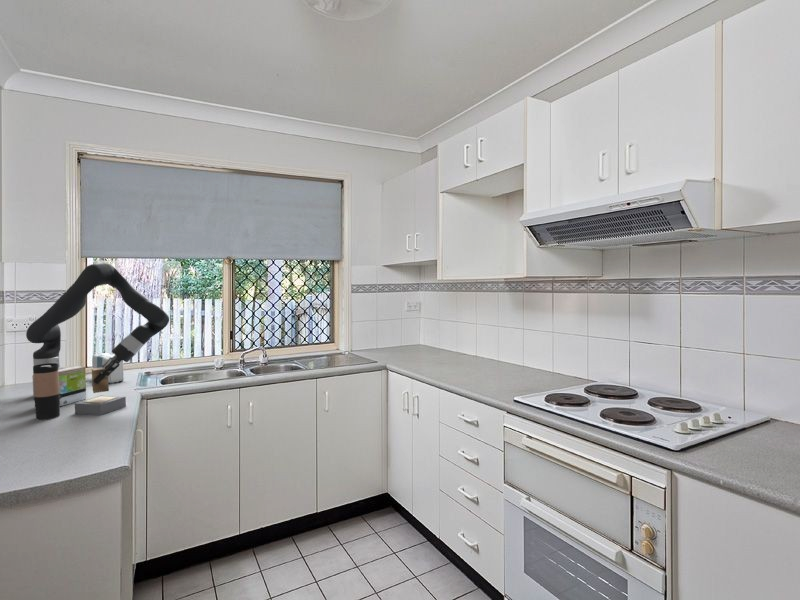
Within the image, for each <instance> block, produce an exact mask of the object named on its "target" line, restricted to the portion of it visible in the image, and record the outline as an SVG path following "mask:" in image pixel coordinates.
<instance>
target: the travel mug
mask: <svg viewBox="0 0 800 600" xmlns="http://www.w3.org/2000/svg"><path fill="white" fill-rule="evenodd" d="M32 371H33V372H32V373H33V375H32V376H33V378H32V381H33V380H34V396H33V399H34V408H35V410H34V411H35V419H36V420H37V419H38V421H40V420H41V421H45V420H44V419H46V420H52V419H55V418H58V417H59V416H60V415H61V413H60V412H61V406H60V391H59V374H58V364H57V363H47V364H39V365H35V366H34V365H33V366H32ZM51 418H52V419H51Z"/></svg>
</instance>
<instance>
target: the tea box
mask: <svg viewBox="0 0 800 600" xmlns="http://www.w3.org/2000/svg"><path fill="white" fill-rule="evenodd" d="M58 374H59V391H60V407H61V406H66V405H70V404H75V403H77V402H81V401H84V399H85V400H87V387H86V386H87V384H86V383H87V382H86V381H87V380H86V379H87V378H86V366H77V365H76V366H75V365H73V366H71V365H67V366H66V365H65V366H60V368H58Z"/></svg>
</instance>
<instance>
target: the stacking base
mask: <svg viewBox="0 0 800 600" xmlns="http://www.w3.org/2000/svg"><path fill="white" fill-rule="evenodd" d="M126 398H127V397H126V396H120V395H118V396H117V395H103V394H101V395H98V396H95V397H91V398H86V399H85V400H81V401H77V402H74V414H76V413H77V414H79V415H91V416H92V415H94V416H95V415H96V416H103V415H105V414H108V413H110V412H113V411H116V410H120V409H123V408H125V407H127V404H126V403H127V401H126Z"/></svg>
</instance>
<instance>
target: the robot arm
mask: <svg viewBox="0 0 800 600" xmlns="http://www.w3.org/2000/svg"><path fill="white" fill-rule="evenodd" d="M104 285H110V286H111V287H113V288H114V289H116V290H117V291H118V292H119V294H120V297H121V299H122V300H123V302H124V304H125V305H127V306H128V307H129V308H130V309H132V310H133V311H134V312H136V313H137V314H139V315H141V316H142V317H143V318H144V319H146V320H147V322H145V323H144V324H139V325H138V326H136V327H135V328H134V329H133V330H132V331H131V332H130V333H129V334H128V335H127V336H125V337H124V338H123V339H122V340H121V341H120V342H119V343H118V344H117V345H116V346H115V347H113V349H112V350H111V352H112V354H115V356H114V357H112V358H111V357H110V358H109V359H108V360H107V361H106V362H105V363H104V364H103V366H102V367H104V370H103V371H101V374H99V375H98V376H97V377H96V378H95V379H94V380H93V382H95V383H96V384H98V383H99V382H100V381H101V380H102V379H104V378H105V377H106V376H109V375H110V374H111V373H112V372H113V371H114V370H115V369H116V368H117V367H119V365H120V364H119V363H120V362H121V360H123V362H125V363H129V361H131V359H132V358H134V356H136V355H137V354H138V353H139V351H140V350H142V348H143V347H144V345H146V343H148V342H149V341H150V339H152V337H154V336H155V335H157V334H158V333H160V332H161V331H163V330H164V329H165V328H166V327H167V326H168V324H169V322H170V317H169V315H168V314H167V312H165V311H164V310H163V309H162V308H161V307H160V306H158V305H157V304H156V303H153V302H152V301H151V300H150V299H148V298H147V297H146V296H145V295H143V294H142V293H141V292H140V291H138V290H137V289H136V288H134V287H133V285H132V284H130V282H129V281H128V280H127V279H126V278H125V277H124V276H123V275H122V274H121V272H120V271H118V269H117V268H116V267H115V266H114V265H112V264H111V263H108V262H102V263H101V262H100V263H99V262H98V263H93V264H89V265H87V266H86V267H85V268H84V269H83V270H82V271H81V272H80V274H79V275H78V276H77V279H76V280H75V281H74V282H73V284H72V285H70V286H69V288H67V290H66V291H65V292H64V293H63V294H62V295H61V296H59V298H58V299H57V300H56V301H55V302H54V304H52V306H50V308H48V309H47V310H46V311H45V312H44V313H43V314H42V315H40V317H38V318H37V319H36V320H35V321H33V322H31V324H30V325H29V326H28V328H27V329H26V332H25V336H26V340H27V341H28V342H29V343H32V344H43V345H42V346H41V347H40V348H39V349H36V350H35V351H34V352H33V354H32V360H33V361H32V362H33V363H32V364H33V366H35V365H39V364H47V363H57V364H58V368H60V367H61V366H60V351H61V347H62V346H61V345H62V343H61V341H62V339H61V338H62V333H61V328H60V325H59V324H62V323H64V322H66V321H68V320H70V319H71V318H74V317H75V316H76V315H78V313H80V312H81V310H82V309H83V308H84V307H85V306H86V305H87V299H88V297H87V296H88V294H89V293H90V292H91V291H92V290H94V289H95V288H96V287H99V286H104ZM100 368H101V367H100ZM106 370H108V372H106ZM31 378H32V394H33V397H34V380H33V375H32V377H31Z"/></svg>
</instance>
